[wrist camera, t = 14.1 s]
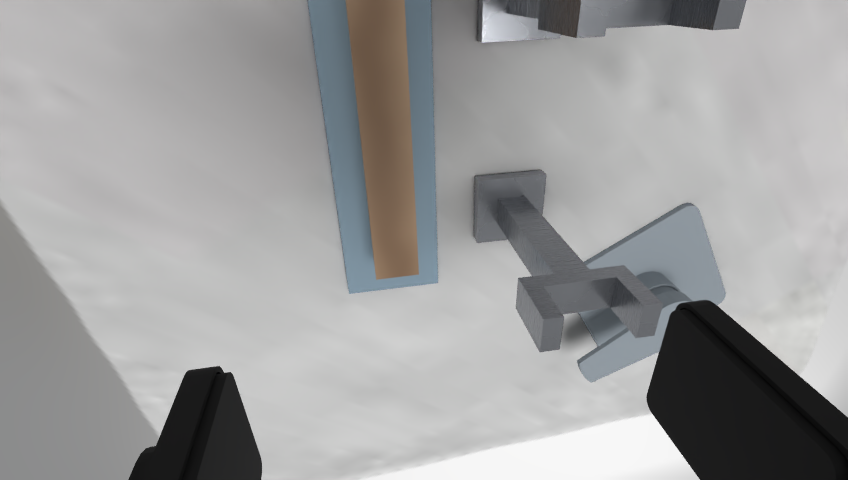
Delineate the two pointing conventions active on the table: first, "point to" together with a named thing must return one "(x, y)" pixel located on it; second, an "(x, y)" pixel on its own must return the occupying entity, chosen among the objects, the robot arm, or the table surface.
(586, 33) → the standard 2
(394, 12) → the rail
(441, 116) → the table surface
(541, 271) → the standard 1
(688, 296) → the shower valve
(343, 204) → the mat
